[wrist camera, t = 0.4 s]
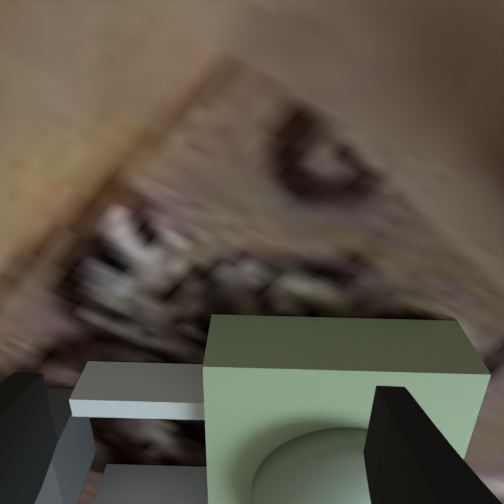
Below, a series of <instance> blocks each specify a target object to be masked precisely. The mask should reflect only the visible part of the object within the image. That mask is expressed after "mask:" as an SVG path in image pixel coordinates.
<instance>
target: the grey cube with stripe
mask: <svg viewBox="0 0 504 504" xmlns="http://www.w3.org/2000/svg"><path fill="white" fill-rule="evenodd" d="M46 390H47V395H48V399H49V404H50V408H51V413H52V417H53V421H54V426H55V430H56V435H57V439H58V442H57V445H56V448H55V451H54V454H53V457H52V460H51V463H50V466H49V469H48V472H47V474H46V477H45V480H44V483H43V486H42V488H41V490H40V492H39V495H38V497H37V499H36V501H35V503H34V504H77V501H78V499H79V496H80V494H81V491H82V488H83V486H84V483H85V480H86V478H87V475H88V472H89V470H90V467H91V464H92V462H93V459H94V456H95V454H96V448H95V443H94V438H93V433H92V428H91V424H90V419H89V417H77V416H72V411H71V407H70V402H69V398H70V396H71V394H72V392H73V390H74V389H68V388H46Z"/></svg>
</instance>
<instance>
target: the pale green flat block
mask: <svg viewBox="0 0 504 504" xmlns="http://www.w3.org/2000/svg"><path fill="white" fill-rule="evenodd" d="M490 376H491V374H490V372H489V371H488V369H487V368H486V366H485V364H484V363H483V361H482V360H481V358H480V356H479V355H478V353H477V352H476V350H475V348H474V347H473V345H472V343H471V342H470V340H469V339H468V337H467V335H466V334H465V332H464V331H463V329H462V327H461V326H460V324H459V323H458V321H446V320H408V319H370V318H331V317H293V316H255V315H217V314H212V315H211V321H210V327H209V333H208V338H207V344H206V350H205V356H204V362H203V364H172V363H135V362H99V361H88V362H87V364H86V366H85V368H84V370H83V372H82V374H81V376H80V378H79V380H78V382H77V384H76V386H75V388H74V390H73V392H72V394H71V396H70V398H69V402H70V407H71V411H72V416H77V417H111V418H145V419H180V420H205V440H206V465H207V467H193V466H160V465H127V464H107V465H106V468H105V471H104V473H103V476H102V479H101V482H100V485H99V488H98V491H97V494H96V497H95V499H94V502H93V504H371V501H370V495H369V488H368V482H367V475H366V468H365V461H364V454H363V451H364V446H365V441H366V436H367V431H368V425H369V420H370V415H371V410H372V405H373V399H374V394H375V389H376V386H401V387H405V388H406V389H407V390H408V391H409V392H410V393H411V395H412V396H413V397H414V399H415V400H416V401H417V402H418V404H419V405H420V406H421V408H422V409H423V410H424V411H425V413H426V414H427V415H428V417H429V418H430V419H431V420H432V422H433V423H434V424H435V425H436V427H437V428H438V429H439V430H440V432H441V433H442V434H443V435H444V437H445V438H446V439H447V440H448V442H449V443H450V444H451V445H452V447H453V448H454V449H455V450H456V451H457V453H458V454H459V455H460V456H461V457H462V458H463V460H464V457H465V454H466V451H467V447H468V444H469V441H470V438H471V435H472V432H473V429H474V426H475V423H476V419H477V416H478V413H479V410H480V407H481V404H482V401H483V398H484V395H485V391H486V388H487V385H488V382H489V379H490Z"/></svg>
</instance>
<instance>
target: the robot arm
mask: <svg viewBox="0 0 504 504" xmlns="http://www.w3.org/2000/svg"><path fill="white" fill-rule="evenodd" d="M57 442H58V439H57V435H56V430H55V426H54V421H53V417H52V413H51V408H50V404H49V399H48V395H47V390H46V386H45V382H44V377H43V373H18V372H15V373H13V374H12V375H11V376H9V377H8V378H7V379H5V380H4V381H3V382H1V383H0V504H34V503H35V501H36V499H37V497H38V495H39V492H40V490H41V488H42V486H43V483H44V480H45V477H46V474H47V472H48V469H49V466H50V463H51V460H52V457H53V454H54V451H55V448H56V445H57ZM363 454H364V461H365V468H366V475H367V482H368V488H369V495H370V501H371V504H502V503H501V502H500V501H499V500H498V499H497V497H496V496H495V495H494V494H493V493H492V492H491V491H490V490H489V489H488V487H487V486H486V485H485V484H484V483H483V482H482V481H481V480H480V478H479V477H478V476H477V475H476V474H475V473H474V471H473V470H472V469H471V468H470V467H469V465H468V464H467V463H466V462H465V461H464V460H463V458H462V457H461V456H460V455H459V454H458V453H457V451H456V450H455V449H454V448H453V447H452V445H451V444H450V443H449V442H448V440H447V439H446V438H445V437H444V435H443V434H442V433H441V432H440V430H439V429H438V428H437V427H436V425H435V424H434V423H433V422H432V420H431V419H430V418H429V417H428V415H427V414H426V413H425V411H424V410H423V409H422V408H421V406H420V405H419V404H418V402H417V401H416V400H415V399H414V397H413V396H412V395H411V393H410V392H409V391H408V390H407V389H406V388H405V387H401V386H376V389H375V394H374V399H373V405H372V410H371V415H370V420H369V425H368V431H367V436H366V441H365V446H364V451H363Z"/></svg>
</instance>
